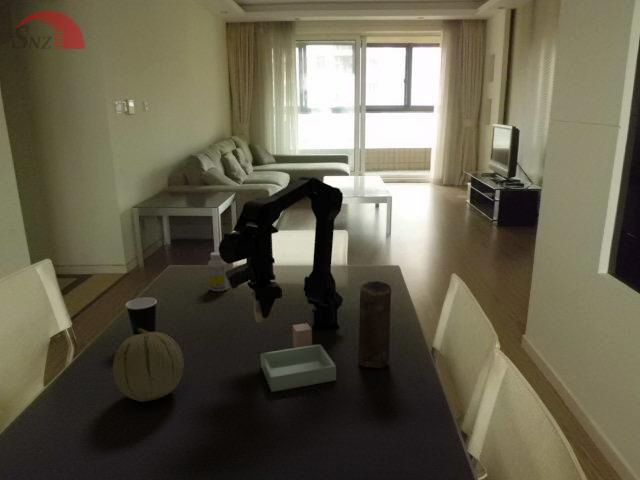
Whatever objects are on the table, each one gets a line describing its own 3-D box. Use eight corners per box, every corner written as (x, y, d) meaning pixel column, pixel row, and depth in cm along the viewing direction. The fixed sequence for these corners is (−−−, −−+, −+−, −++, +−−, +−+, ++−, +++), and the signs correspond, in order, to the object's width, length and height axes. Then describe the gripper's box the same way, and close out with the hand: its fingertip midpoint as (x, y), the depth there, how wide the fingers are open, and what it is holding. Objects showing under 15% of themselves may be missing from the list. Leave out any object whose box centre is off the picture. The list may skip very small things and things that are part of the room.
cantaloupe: (148, 423, 103) (139, 354, 99) (101, 402, 111) (92, 338, 107) (201, 389, 115) (195, 326, 111) (156, 372, 123) (149, 314, 119)
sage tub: (320, 356, 129) (320, 343, 128) (336, 380, 118) (335, 366, 117) (261, 366, 125) (260, 353, 124) (271, 391, 113) (270, 377, 113)
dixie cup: (126, 347, 136) (121, 308, 133) (135, 334, 144) (130, 297, 141) (156, 346, 136) (152, 307, 134) (164, 333, 144) (160, 296, 141)
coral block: (308, 344, 136) (307, 323, 134) (312, 350, 132) (311, 329, 131) (293, 346, 135) (292, 325, 133) (297, 353, 131) (296, 331, 130)
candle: (392, 359, 126) (393, 282, 122) (386, 374, 120) (387, 292, 115) (362, 355, 129) (362, 279, 124) (354, 369, 122) (354, 289, 117)
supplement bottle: (220, 284, 184) (218, 249, 181) (233, 287, 180) (231, 252, 177) (206, 289, 179) (203, 254, 175) (219, 293, 175) (217, 256, 172)
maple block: (270, 314, 130) (269, 292, 128) (273, 320, 126) (272, 297, 125) (254, 316, 129) (253, 293, 127) (256, 322, 125) (255, 299, 124)
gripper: (222, 247, 130) (226, 305, 134) (231, 268, 112) (235, 334, 116) (266, 243, 133) (268, 300, 137) (281, 263, 115) (283, 327, 119)
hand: (263, 314), depth 127 cm, fingers closed on maple block, 4 cm apart
